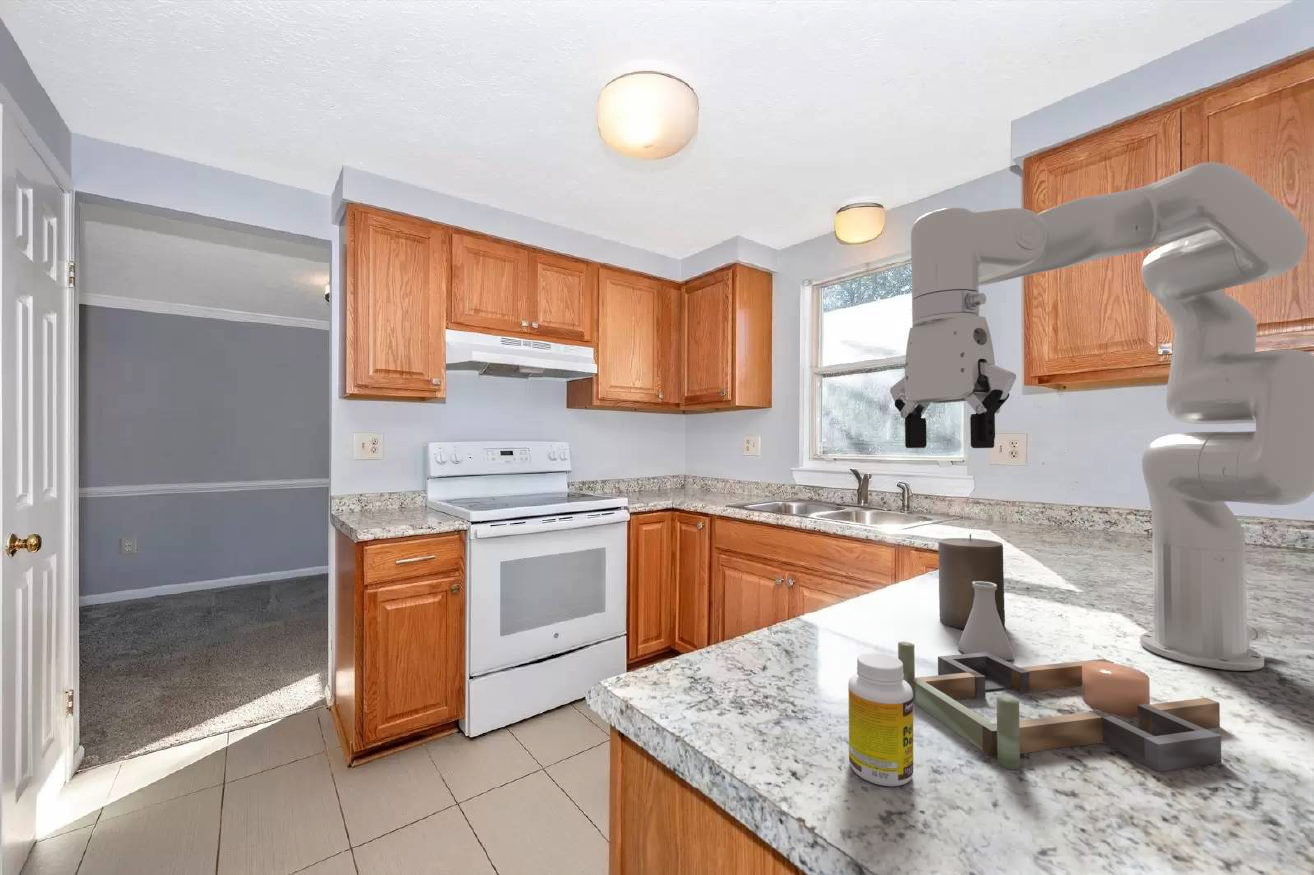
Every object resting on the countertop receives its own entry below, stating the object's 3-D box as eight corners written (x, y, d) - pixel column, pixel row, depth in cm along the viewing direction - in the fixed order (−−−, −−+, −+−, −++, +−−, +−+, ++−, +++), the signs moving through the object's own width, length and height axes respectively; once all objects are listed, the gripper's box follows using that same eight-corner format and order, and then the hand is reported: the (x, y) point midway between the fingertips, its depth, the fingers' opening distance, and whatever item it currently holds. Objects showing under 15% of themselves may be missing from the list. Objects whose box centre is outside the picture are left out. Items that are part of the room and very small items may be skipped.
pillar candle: (1018, 633, 89) (1016, 538, 89) (956, 632, 89) (955, 538, 89) (983, 615, 98) (982, 530, 99) (928, 614, 98) (927, 529, 99)
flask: (1024, 664, 76) (1023, 591, 76) (966, 660, 77) (965, 588, 78) (1002, 646, 83) (1001, 578, 83) (950, 642, 84) (949, 576, 85)
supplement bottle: (913, 796, 48) (912, 676, 48) (845, 780, 50) (844, 666, 50) (914, 763, 53) (913, 654, 53) (852, 749, 55) (851, 645, 55)
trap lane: (1067, 663, 76) (1066, 619, 76) (1283, 752, 54) (1282, 690, 54) (880, 681, 71) (880, 634, 71) (1036, 790, 48) (1035, 721, 48)
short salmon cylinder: (1110, 692, 68) (1109, 659, 68) (1164, 716, 62) (1163, 679, 62) (1069, 697, 66) (1068, 663, 66) (1120, 721, 60) (1119, 684, 60)
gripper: (1033, 298, 64) (1036, 447, 63) (912, 328, 80) (914, 447, 79) (987, 292, 61) (990, 448, 61) (871, 324, 77) (873, 448, 77)
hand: (947, 447), depth 70 cm, fingers open, 9 cm apart
